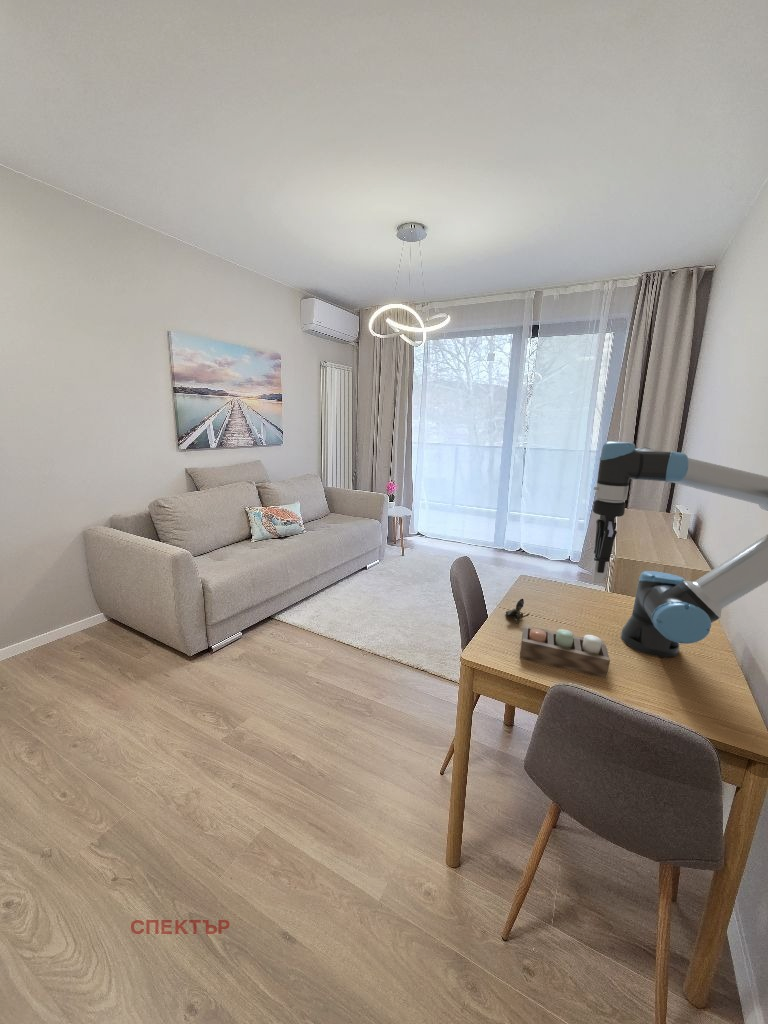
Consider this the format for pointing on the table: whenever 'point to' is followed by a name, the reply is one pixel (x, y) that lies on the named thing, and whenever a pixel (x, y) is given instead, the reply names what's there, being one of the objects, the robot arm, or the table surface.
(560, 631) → the sage button
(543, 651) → the wooden egg holder
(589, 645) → the white rounded block
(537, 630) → the pink rounded block
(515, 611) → the eagle figurine
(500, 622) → the table surface
